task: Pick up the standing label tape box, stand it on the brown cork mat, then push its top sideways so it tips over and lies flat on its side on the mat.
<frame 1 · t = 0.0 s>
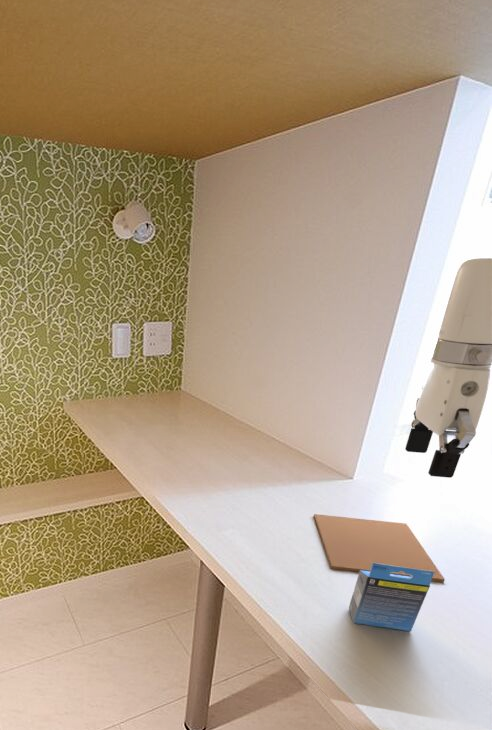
hand: (426, 463, 69), 25 cm above the table, tool pointing down, fingers open, 9 cm apart
cork mat: (371, 545, 91), on the table
label tape box: (378, 621, 72), on the table
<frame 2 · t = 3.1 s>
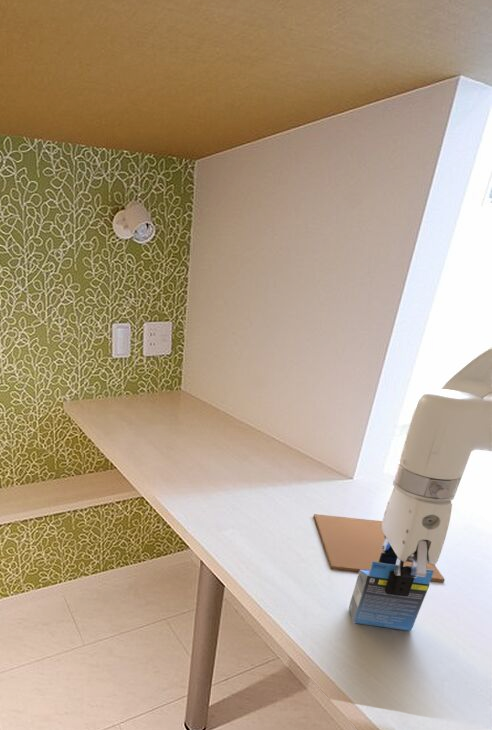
hand: (391, 583, 68), 8 cm above the table, tool pointing down, fingers closed on label tape box, 3 cm apart
label tape box: (378, 621, 72), on the table, touching gripper
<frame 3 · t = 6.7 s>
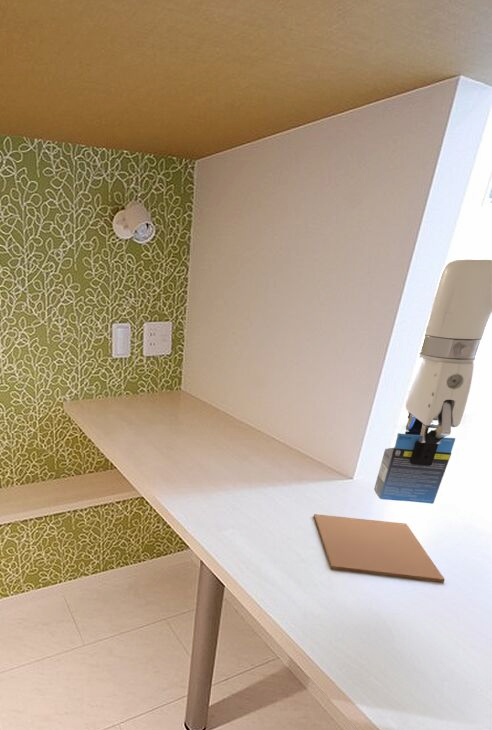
hand: (415, 458, 74), 23 cm above the table, tool pointing down, fingers closed on label tape box, 3 cm apart
label tape box: (402, 498, 77), point 16 cm above the table, touching gripper
when the fingers open (8 cm above the table, at t = 10.5 s): label tape box stays where it is, resting on cork mat.
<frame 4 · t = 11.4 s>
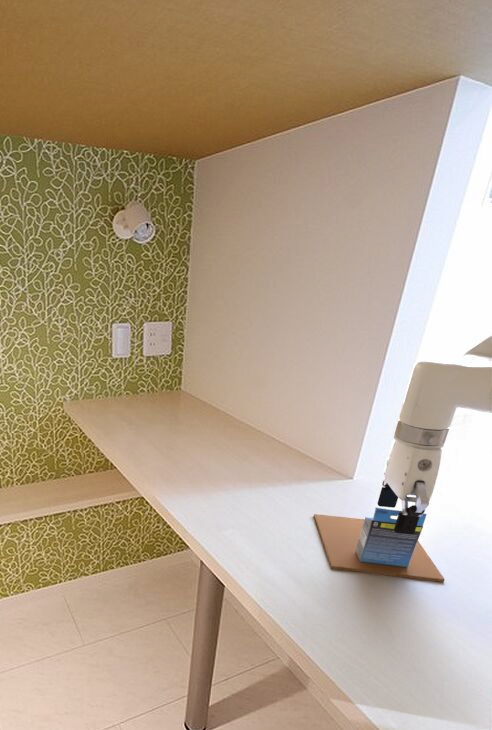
hand: (394, 518, 82), 10 cm above the table, tool pointing down, fingers open, 9 cm apart
label tape box: (380, 560, 86), resting on cork mat
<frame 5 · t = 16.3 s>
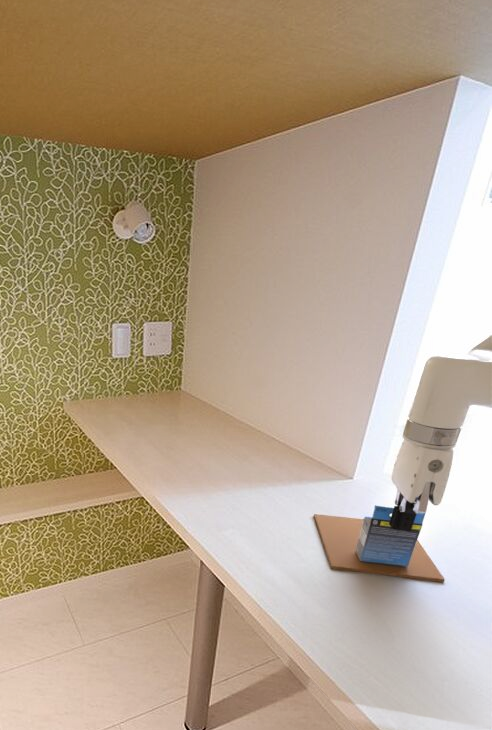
hand: (399, 527, 78), 10 cm above the table, tool pointing down, fingers closed
label tape box: (380, 560, 86), resting on cork mat, touching gripper
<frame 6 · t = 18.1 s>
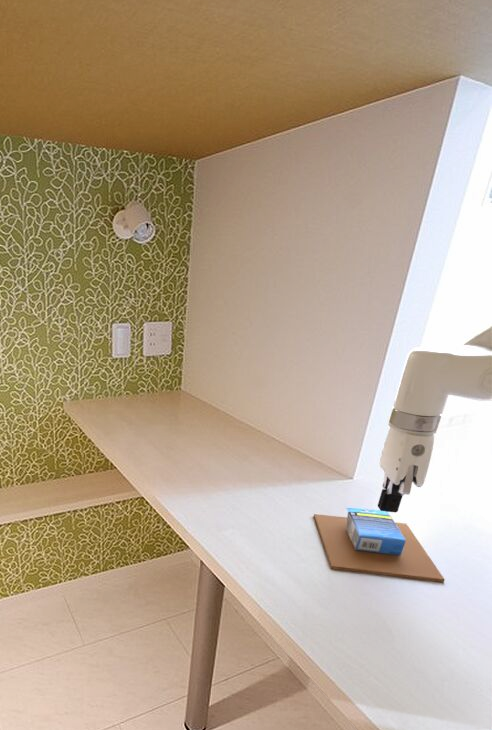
hand: (387, 509, 85), 10 cm above the table, tool pointing down, fingers closed
label tape box: (380, 545, 86), point 3 cm above the table, touching cork mat
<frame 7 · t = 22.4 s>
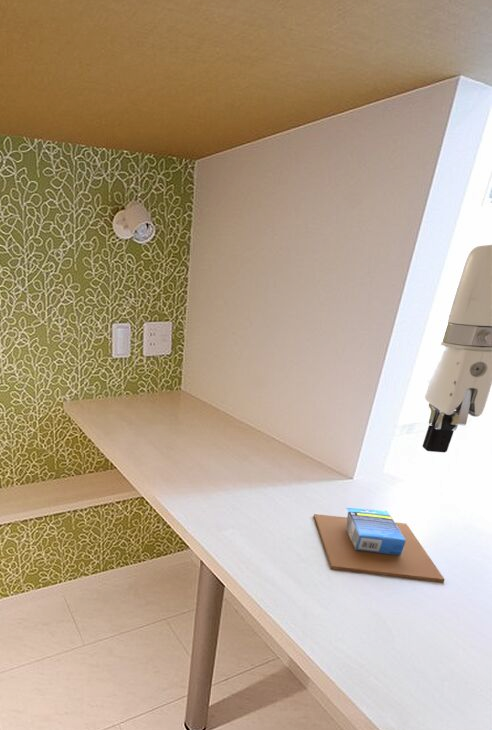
hand: (434, 449, 73), 25 cm above the table, tool pointing down, fingers closed
nothing on the table moved.
at the end: label tape box tilted 92°; label tape box inside the target area on the cork mat (4.1 cm from its centre), point 2.7 cm above the cork mat's base; the gripper is holding nothing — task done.
